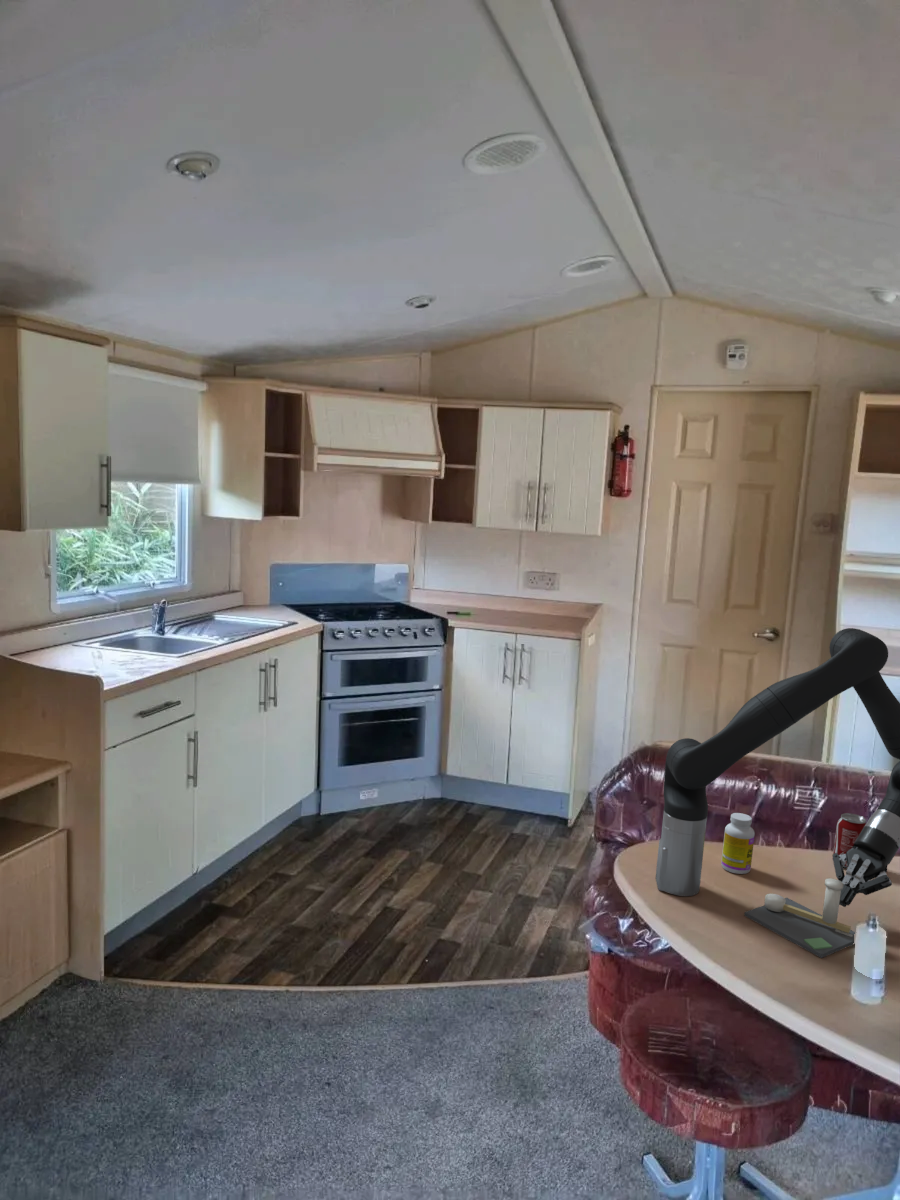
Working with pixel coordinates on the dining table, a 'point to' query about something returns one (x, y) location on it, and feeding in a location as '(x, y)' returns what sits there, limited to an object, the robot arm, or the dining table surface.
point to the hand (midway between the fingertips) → (840, 903)
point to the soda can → (847, 832)
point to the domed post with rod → (827, 918)
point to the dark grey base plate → (802, 929)
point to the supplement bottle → (738, 844)
